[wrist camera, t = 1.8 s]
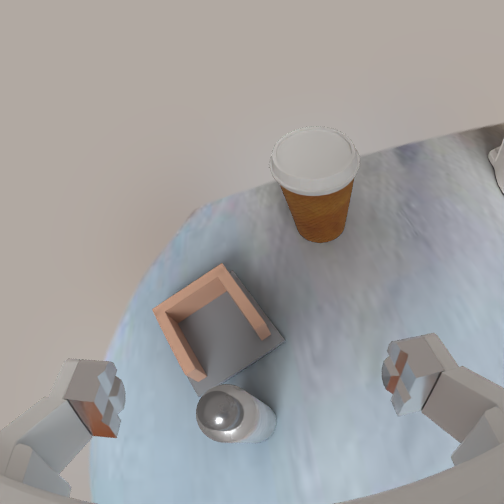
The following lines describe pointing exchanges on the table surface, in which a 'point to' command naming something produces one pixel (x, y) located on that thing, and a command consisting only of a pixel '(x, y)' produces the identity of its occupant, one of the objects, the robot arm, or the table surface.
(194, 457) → the table surface
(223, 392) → the silver water flask
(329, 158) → the disposable coffee cup
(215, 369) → the dock
